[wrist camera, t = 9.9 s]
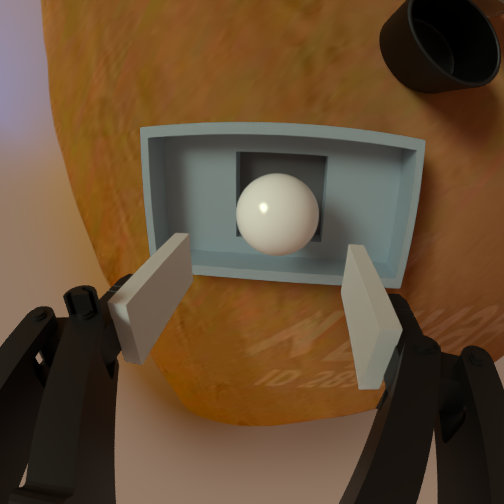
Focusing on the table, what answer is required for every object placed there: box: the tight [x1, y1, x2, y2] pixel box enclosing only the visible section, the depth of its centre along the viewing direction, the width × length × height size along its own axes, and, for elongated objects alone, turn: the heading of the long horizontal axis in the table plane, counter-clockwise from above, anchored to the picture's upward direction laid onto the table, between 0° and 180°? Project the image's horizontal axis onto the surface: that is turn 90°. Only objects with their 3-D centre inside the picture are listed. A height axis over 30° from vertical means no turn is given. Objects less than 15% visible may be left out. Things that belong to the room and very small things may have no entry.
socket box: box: [140, 122, 425, 288], centre depth 28 cm, size 14×24×6 cm, turn 89°
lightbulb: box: [236, 173, 319, 256], centre depth 25 cm, size 6×6×11 cm
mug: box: [379, 0, 501, 94], centre depth 17 cm, size 9×12×9 cm
